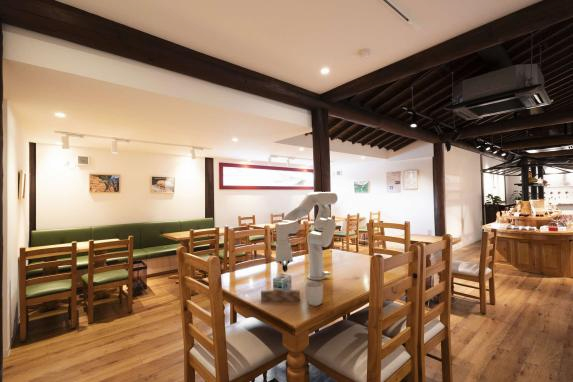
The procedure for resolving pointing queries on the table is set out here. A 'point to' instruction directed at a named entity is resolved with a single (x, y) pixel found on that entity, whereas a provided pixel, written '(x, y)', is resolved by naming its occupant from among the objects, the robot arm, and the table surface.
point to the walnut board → (280, 295)
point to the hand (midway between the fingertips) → (285, 271)
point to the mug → (314, 293)
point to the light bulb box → (282, 282)
